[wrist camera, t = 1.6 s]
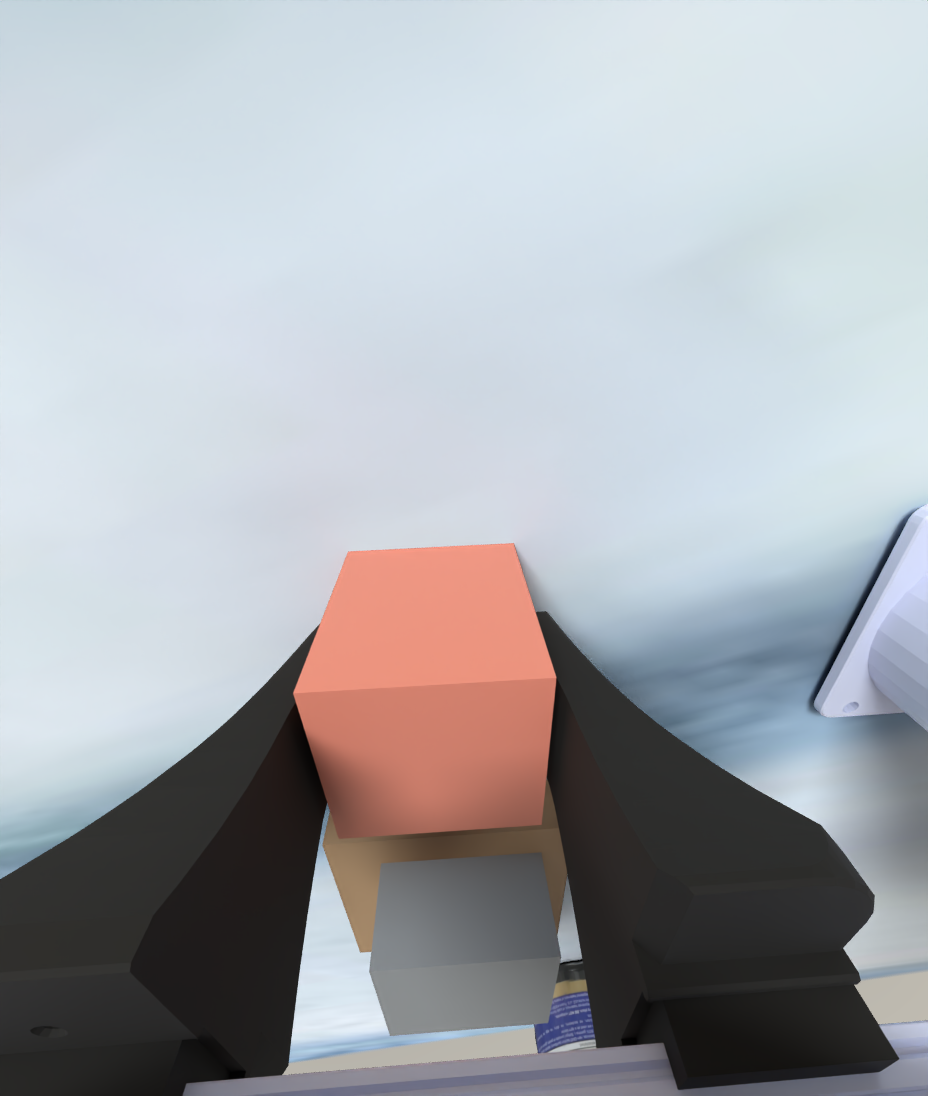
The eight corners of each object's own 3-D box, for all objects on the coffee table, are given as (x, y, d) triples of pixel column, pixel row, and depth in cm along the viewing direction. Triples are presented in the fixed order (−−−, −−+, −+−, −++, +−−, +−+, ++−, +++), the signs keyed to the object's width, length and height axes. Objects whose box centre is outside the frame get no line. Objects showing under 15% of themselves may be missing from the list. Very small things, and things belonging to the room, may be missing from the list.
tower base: (558, 762, 18) (574, 827, 15) (545, 874, 22) (556, 936, 20) (337, 777, 17) (322, 845, 15) (368, 887, 22) (360, 952, 19)
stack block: (513, 542, 12) (556, 677, 7) (509, 664, 14) (541, 825, 10) (348, 550, 12) (292, 693, 7) (371, 672, 14) (338, 839, 9)
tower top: (541, 851, 16) (560, 956, 13) (532, 924, 19) (548, 1022, 16) (380, 862, 16) (369, 971, 13) (397, 934, 19) (390, 1035, 16)
